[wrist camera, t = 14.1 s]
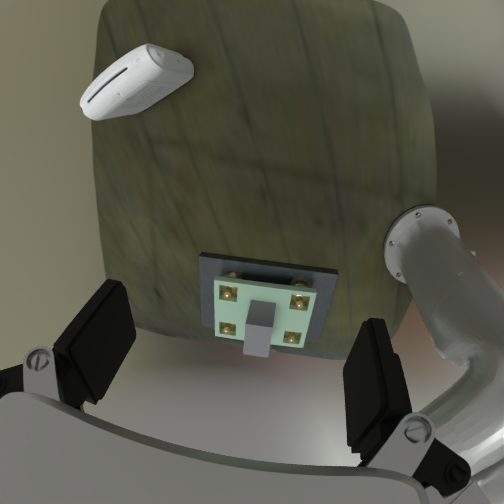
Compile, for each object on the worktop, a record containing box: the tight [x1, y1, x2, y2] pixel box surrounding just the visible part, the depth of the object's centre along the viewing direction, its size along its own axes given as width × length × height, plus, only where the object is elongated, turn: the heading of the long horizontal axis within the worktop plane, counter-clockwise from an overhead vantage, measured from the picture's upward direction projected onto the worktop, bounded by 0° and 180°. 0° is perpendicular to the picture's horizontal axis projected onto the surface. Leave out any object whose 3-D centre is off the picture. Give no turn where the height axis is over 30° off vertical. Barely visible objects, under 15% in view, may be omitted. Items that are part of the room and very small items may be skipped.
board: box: [214, 276, 317, 357], centre depth 40 cm, size 14×11×6 cm
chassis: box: [199, 252, 338, 344], centre depth 44 cm, size 20×14×5 cm
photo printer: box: [80, 44, 194, 120], centre depth 26 cm, size 10×4×12 cm, turn 117°
